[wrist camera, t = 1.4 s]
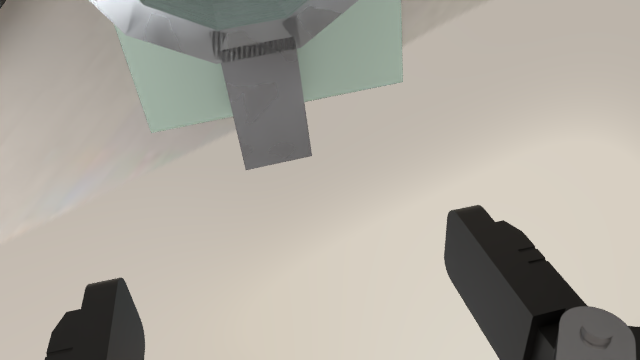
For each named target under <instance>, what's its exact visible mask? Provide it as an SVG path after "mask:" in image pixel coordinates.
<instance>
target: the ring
mask: <svg viewBox="0 0 640 360" xmlns="http://www.w3.org/2000/svg"><path fill="white" fill-rule="evenodd" d="M89 1H90V2H91V3H93V4H94V5H95V6H96V7H97V8H98V9H99V10H100V11H101V12H102V13H103V14H104V15H105V16H106V17H107V18H108V19H109V20H110V21H111V22H112V23H113V24H115V25H116V26H117V27H118V28H119V29H120V30H121V31H122V32H123V33H124V34H125V35H127V36H130V37H133V38H136V39H139V40H142V41H146V42H149V43H152V44H155V45H158V46H161V47H164V48H168V49H171V50H174V51H177V52H180V53H183V54H187V55H190V56H193V57H196V58H199V59H202V60H205V61H209V62H212V63H215V64H219V63H221V66H222V70H223V75H224V79H225V83H226V88H227V92H228V96H229V100H230V105H231V109H232V113H233V117H234V122H235V126H236V130H237V134H238V139H239V143H240V147H241V151H242V156H243V160H244V164H245V168H246V170H249V169H254V168H258V167H263V166H267V165H272V164H276V163H281V162H286V161H291V160H295V159H300V158H304V157H309V156H312V153H311V147H310V139H309V132H308V125H307V119H306V112H305V104H304V97H303V90H302V83H301V76H300V69H299V62H298V55H297V49H298V48H301V47H302V46H304V45H305V44H306V43H307V42H309V41H310V40H311V39H312V38H313V37H315V36H316V35H317V34H318V33H319V32H321V31H322V30H323V29H324V28H326V27H327V26H328V25H329V24H330V23H332V22H333V21H334V20H335V19H336V18H338V17H339V16H340V15H341V14H342V13H344V12H345V11H346V10H347V9H349V8H350V7H351V6H352V5H353V4H355V3H356V2H357V1H358V0H89Z"/></svg>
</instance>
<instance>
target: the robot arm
mask: <svg viewBox="0 0 640 360" xmlns="http://www.w3.org/2000/svg"><path fill="white" fill-rule="evenodd" d="M446 229H447V230H446V241H445V253H444V260H445V266H446V270H447V273H448V275H449V277H450V279H451V281H452V283H453V284H454V286H455V288H456V289H457V291H458V293H459V294H460V296H461V297H462V299H463V300H464V302H465V304H466V306H467V307H468V309H469V310H470V312H471V313H472V315H473V317H474V319H475V320H476V322H477V323H478V325H479V327H480V328H481V330H482V332H483V333H484V335H485V336H486V338H487V340H488V341H489V343H490V345H491V346H492V348H493V349H494V351H495V352H496V354H497V356H498V358H499V359H500V360H640V327H633V326H627V325H626V323H624V322H623V321H622V320H621V319H620V318H618V317H617V316H615V315H614V314H612V313H610V312H608V311H605V310H602V309H599V308H595V307H589V306H587V305H586V304H585V303H584V302H583V301H582V299H581V298H580V297H579V296H578V295H577V294H576V293H575V291H574V290H573V289H572V288H571V287H570V286H569V284H568V283H567V282H566V281H565V280H564V279H563V278H562V276H561V275H560V274H559V273H558V272H557V271H556V270H555V269H554V267H553V266H552V265H551V264H550V263H549V262H548V261H546V260H545V257H544V256H543V255H542V254H541V253H540V252H539V250H538V249H535V246H534V245H533V243H532V242H531V241H530V240H529V239H528V238H527V236H526V235H525V234H524V233H523V232H522V231H520V230H519V229H517V228H515V227H513V226H512V225H510V224H509V223H507V222H505V221H499V222H494V220H493V219H492V218H491V217H490V215H489V214H488V213H487V212H486V211H485V210H484V208H483V207H481V206H480V205H476V206H471V207H466V208H462V209H456V210H451V211H450V212H449V213H448V217H447V228H446ZM144 352H145V338H144V330H143V326H142V322H141V319H140V317H139V314H138V312H137V309H136V307H135V305H134V302H133V300H132V297H131V295H130V292H129V290H128V287H127V285H126V283H125V281H124V279H123V278H117V279H112V280H107V281H102V282H97V283H92V284H88V285H87V287H86V289H85V293H84V298H83V302H82V307H81V309H79V310H74V311H69V312H66V313H65V315H64V316H63V318H62V319H61V320H60V322H59V323H58V325H57V326H56V327H55V329H54V330H53V332H52V334H51V338H50V342H49V345H48V349H47V357H45V360H144Z"/></svg>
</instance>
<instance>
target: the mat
mask: <svg viewBox="0 0 640 360" xmlns="http://www.w3.org/2000/svg"><path fill="white" fill-rule="evenodd" d="M114 26H115V29H116V32H117V35H118V37H119V40H120V43H121V46H122V49H123V52H124V55H125V58H126V61H127V64H128V67H129V69H130V72H131V75H132V78H133V81H134V84H135V87H136V90H137V93H138V96H139V98H140V101H141V104H142V107H143V110H144V113H145V116H146V119H147V122H148V125H149V127H150V130H151V133H154V132H159V131H164V130H169V129H174V128H179V127H184V126H189V125H194V124H198V123H203V122H208V121H213V120H218V119H223V118H228V117H233V113H232V109H231V105H230V100H229V96H228V92H227V88H226V83H225V79H224V75H223V70H222V66H221V63H219V64H215V63H212V62H209V61H205V60H202V59H199V58H196V57H193V56H190V55H187V54H183V53H180V52H177V51H174V50H171V49H168V48H164V47H161V46H158V45H155V44H152V43H149V42H146V41H142V40H139V39H136V38H133V37H130V36H127V35H125V34H124V33H123V32H122V31H121V30H120V29H119V28H118V27H117V26H116V25H115V24H114ZM297 55H298V62H299V69H300V76H301V83H302V90H303V97H304V102H307V101H312V100H317V99H321V98H327V97H331V96H336V95H341V94H346V93H351V92H356V91H361V90H366V89H371V88H376V87H381V86H386V85H391V84H396V83H400V82H403V68H402V21H401V0H358V1H357V2H356V3H355V4H353V5H352V6H351V7H350V8H349V9H347V10H346V11H345V12H344V13H342V14H341V15H340V16H339V17H338V18H336V19H335V20H334V21H333V22H332V23H330V24H329V25H328V26H327V27H326V28H324V29H323V30H322V31H321V32H319V33H318V34H317V35H316V36H315V37H313V38H312V39H311V40H310V41H309V42H307V43H306V44H305V45H304V46H302V47H301V48H298V49H297Z"/></svg>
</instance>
